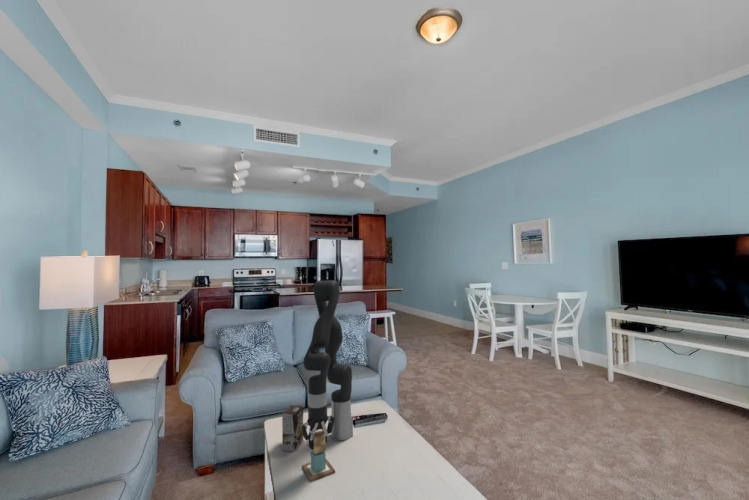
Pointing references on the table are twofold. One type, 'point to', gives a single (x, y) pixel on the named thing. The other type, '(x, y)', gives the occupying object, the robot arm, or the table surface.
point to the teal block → (318, 461)
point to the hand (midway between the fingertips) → (318, 446)
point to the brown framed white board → (320, 474)
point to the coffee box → (292, 428)
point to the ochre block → (319, 442)
